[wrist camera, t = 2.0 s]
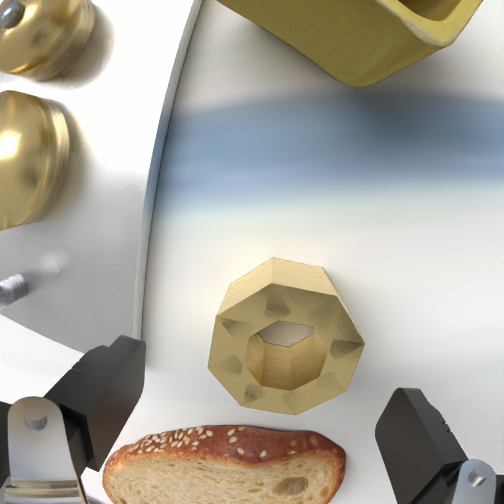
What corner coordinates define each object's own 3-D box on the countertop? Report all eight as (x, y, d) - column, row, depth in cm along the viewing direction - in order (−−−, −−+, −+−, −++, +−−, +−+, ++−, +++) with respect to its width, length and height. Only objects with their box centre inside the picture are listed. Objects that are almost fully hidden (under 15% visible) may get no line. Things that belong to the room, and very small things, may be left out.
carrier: (205, -8, 11) (176, -74, 6) (140, 359, 16) (95, 423, 10) (6, 28, 12) (-43, 9, 6) (-28, 286, 16) (-76, 310, 11)
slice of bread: (112, 494, 21) (99, 519, 17) (92, 367, 17) (63, 400, 13) (285, 535, 20) (284, 563, 17) (365, 431, 16) (376, 472, 13)
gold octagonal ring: (355, 274, 14) (379, 303, 10) (322, 374, 15) (332, 419, 12) (236, 249, 14) (223, 272, 10) (217, 354, 15) (202, 397, 12)
